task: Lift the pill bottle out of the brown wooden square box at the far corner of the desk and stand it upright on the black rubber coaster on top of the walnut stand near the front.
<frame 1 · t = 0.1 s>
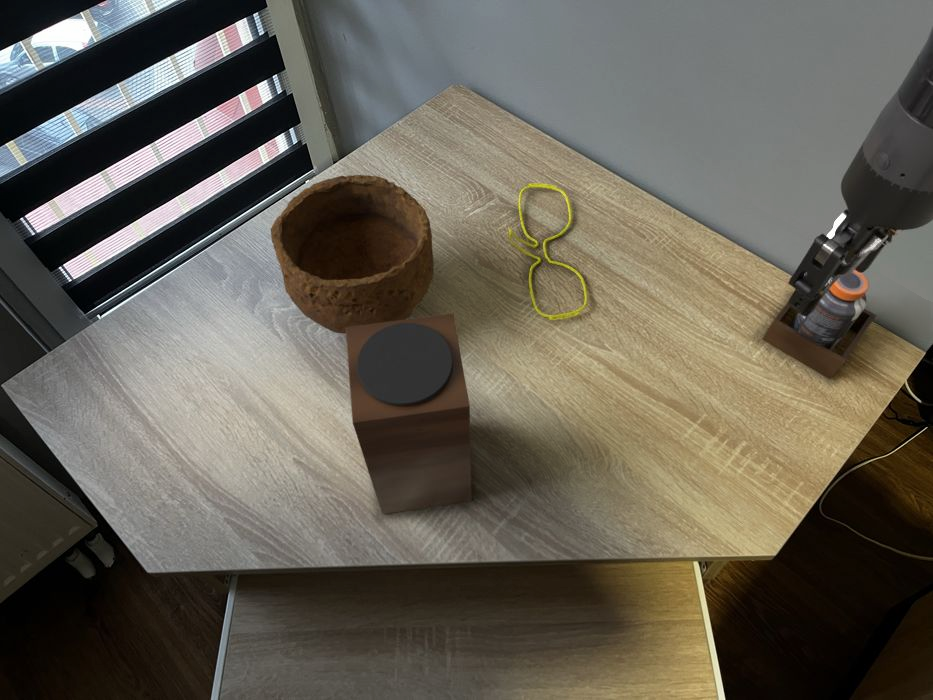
hand: (827, 286, 67), 21 cm above the table, tool pointing down, fingers open, 8 cm apart
stand: (421, 466, 80), on the table
brown wooden square box: (811, 336, 89), on the table
pill bottle: (811, 337, 89), resting in brown wooden square box
glasses: (542, 253, 98), on the table
bowl: (367, 304, 93), on the table
coaster: (405, 365, 62), resting on stand
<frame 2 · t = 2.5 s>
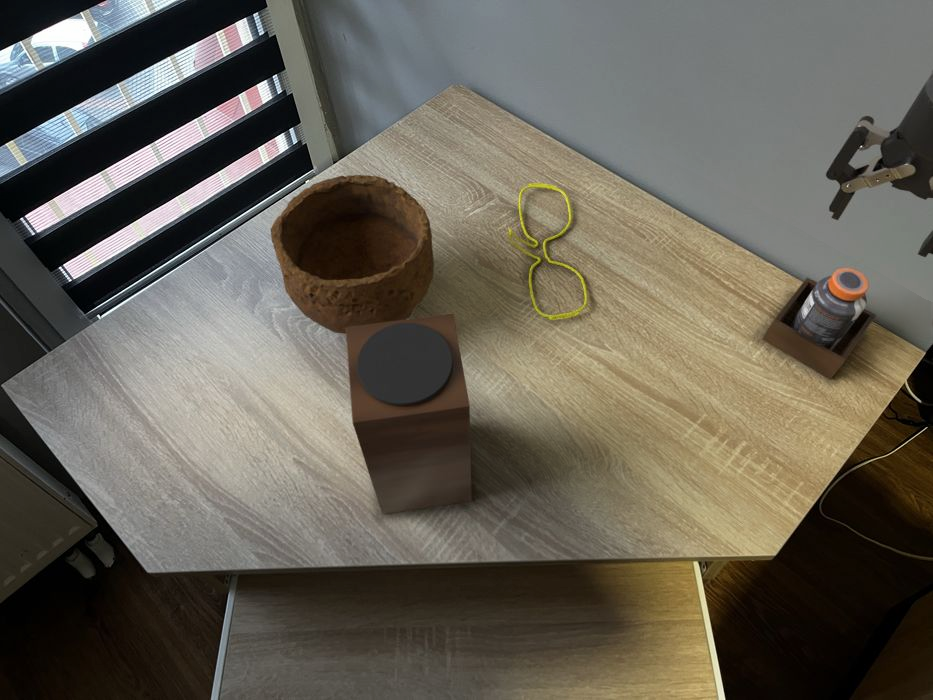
hand: (879, 232, 69), 22 cm above the table, tool pointing down, fingers open, 8 cm apart
nothing on the table moved.
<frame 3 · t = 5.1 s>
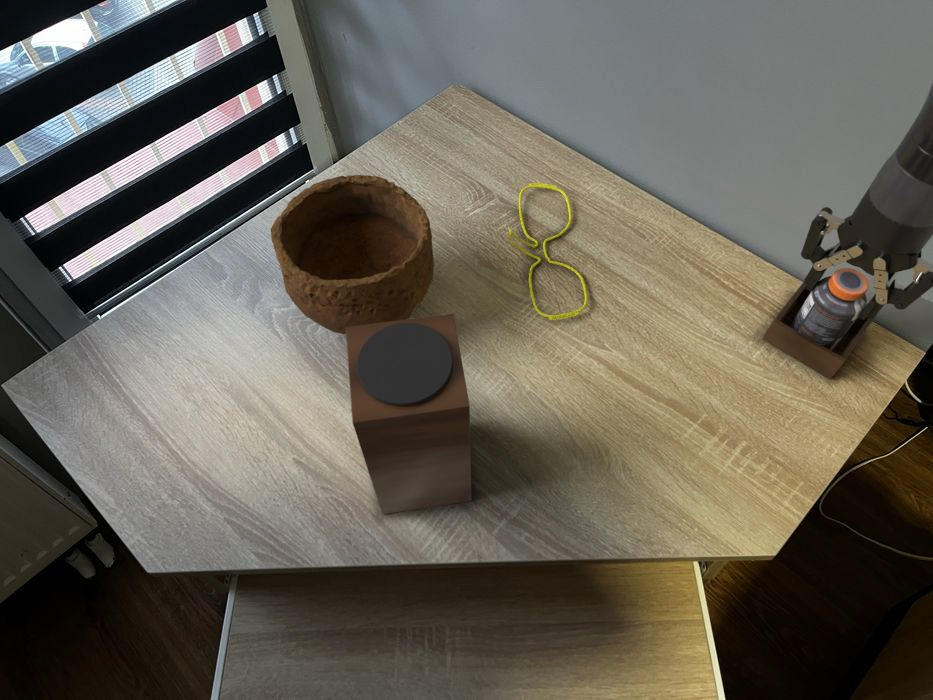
hand: (837, 300, 83), 8 cm above the table, tool pointing down, fingers closed on pill bottle, 6 cm apart
pill bottle: (811, 337, 89), resting in brown wooden square box, touching gripper
everything else where it was.
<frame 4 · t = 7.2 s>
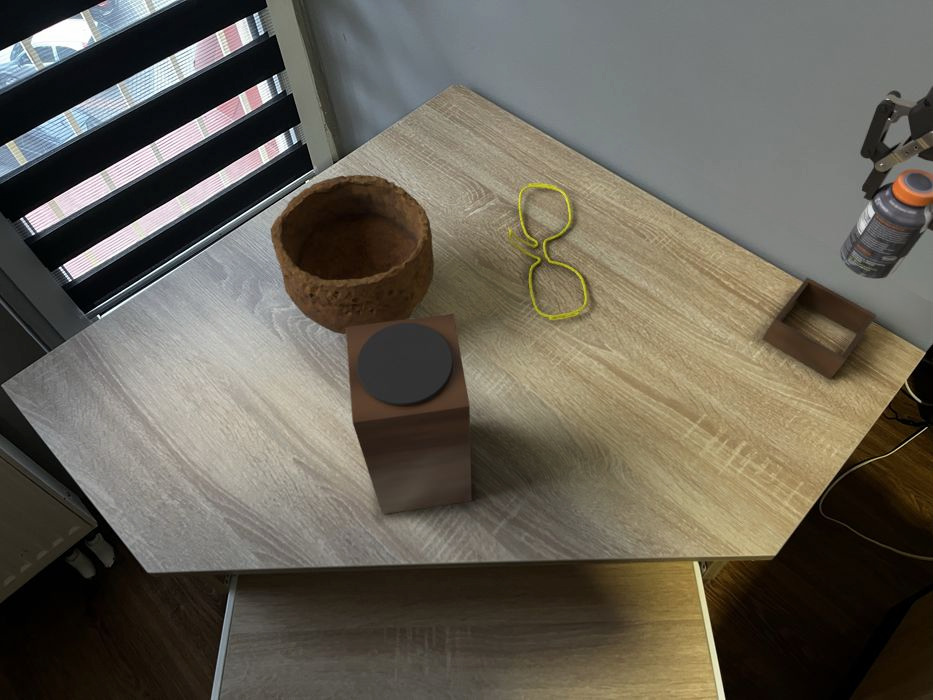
hand: (901, 209, 70), 23 cm above the table, tool pointing down, fingers closed on pill bottle, 6 cm apart
pill bottle: (866, 260, 77), point 15 cm above the table, touching gripper
everything else where it was.
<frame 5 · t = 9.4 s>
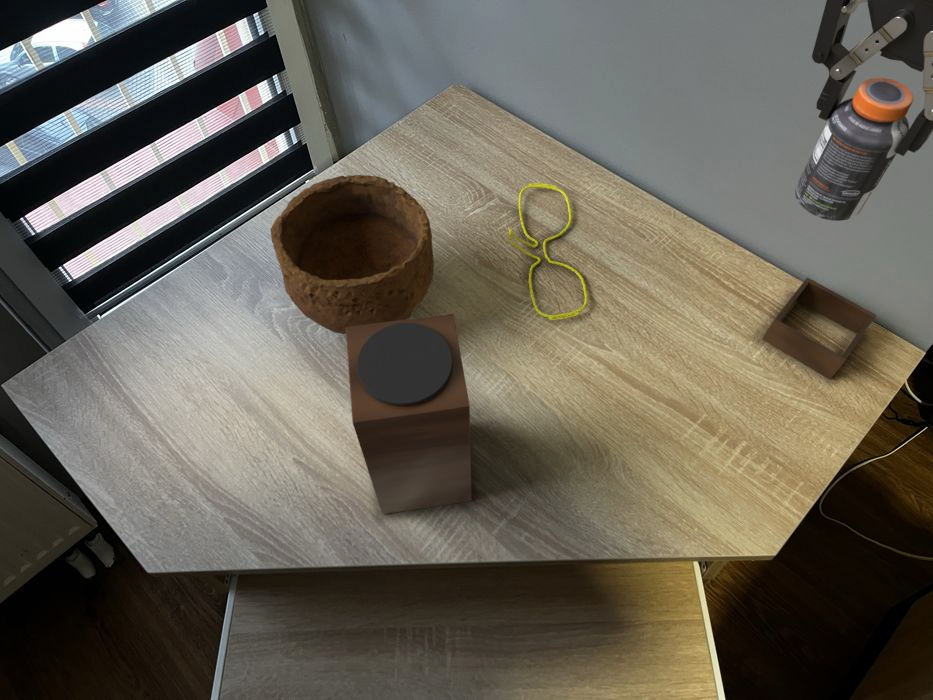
hand: (864, 131, 57), 36 cm above the table, tool pointing down, fingers closed on pill bottle, 6 cm apart
pill bottle: (826, 201, 63), point 28 cm above the table, touching gripper
everything else where it was.
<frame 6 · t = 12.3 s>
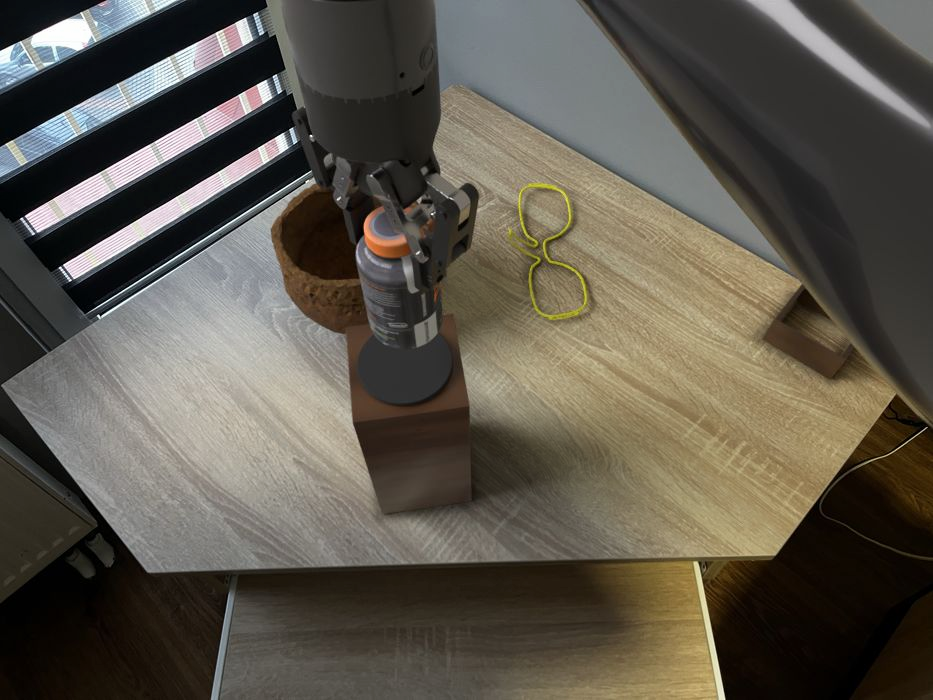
hand: (396, 260, 50), 36 cm above the table, tool pointing down, fingers closed on pill bottle, 6 cm apart
pill bottle: (406, 322, 57), point 28 cm above the table, touching gripper
everything else where it was.
when the fingers open (30 cm above the table, at t = 14.2 s): pill bottle stays where it is, resting on coaster.
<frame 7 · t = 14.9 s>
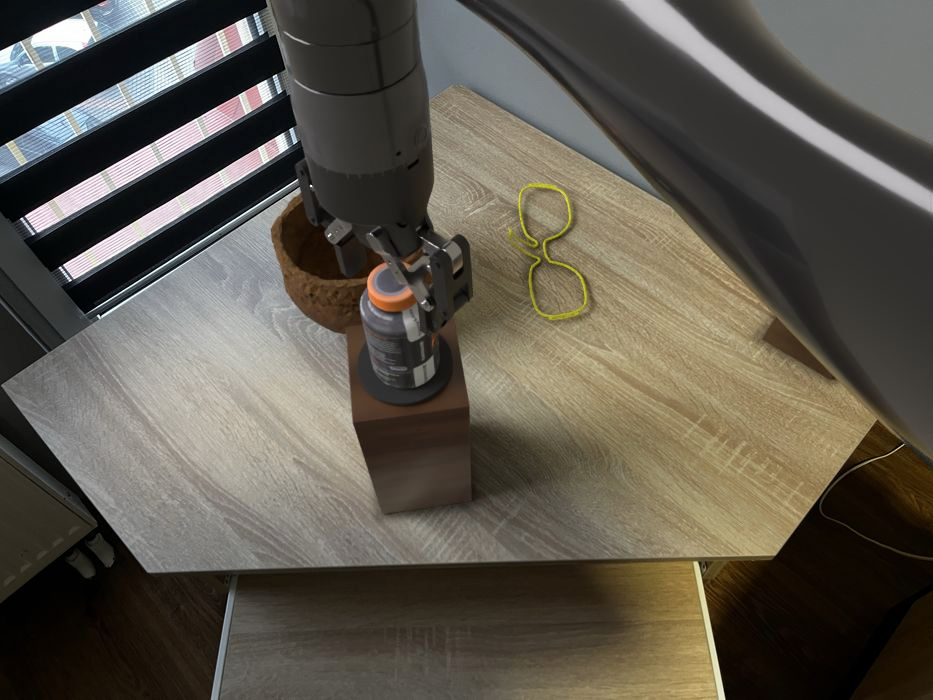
hand: (393, 297, 53), 32 cm above the table, tool pointing down, fingers open, 8 cm apart
pill bottle: (406, 362, 61), point 22 cm above the table, touching coaster
everything else where it was.
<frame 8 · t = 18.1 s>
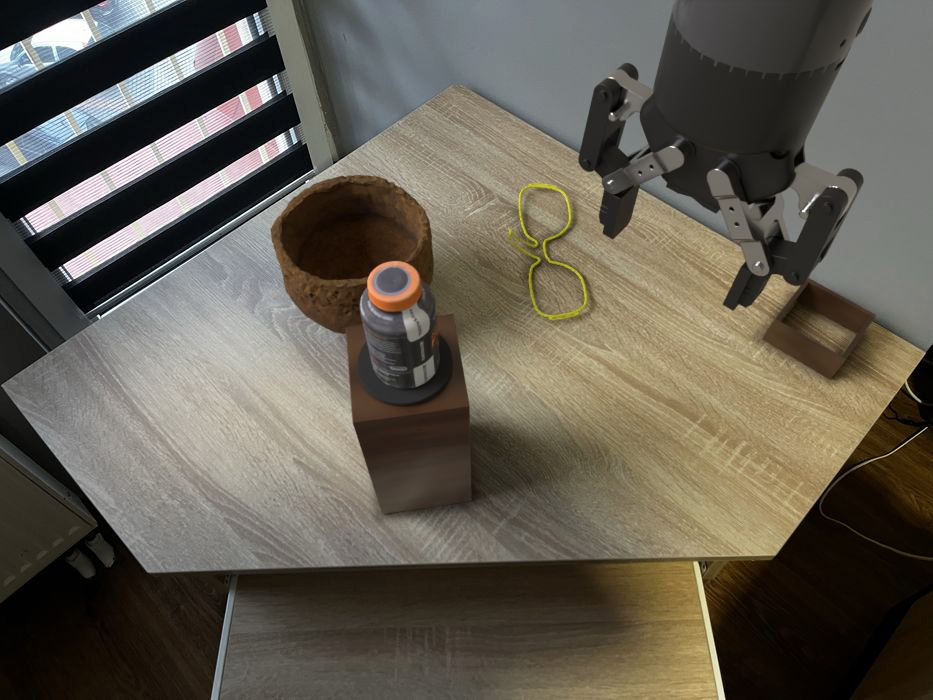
hand: (673, 263, 43), 41 cm above the table, tool pointing down, fingers open, 8 cm apart
nothing on the table moved.
at the end: pill bottle 0.1 cm off-centre on the coaster, point 0.4 cm above the coaster's base; pill bottle tilted 0°; the gripper is holding nothing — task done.
